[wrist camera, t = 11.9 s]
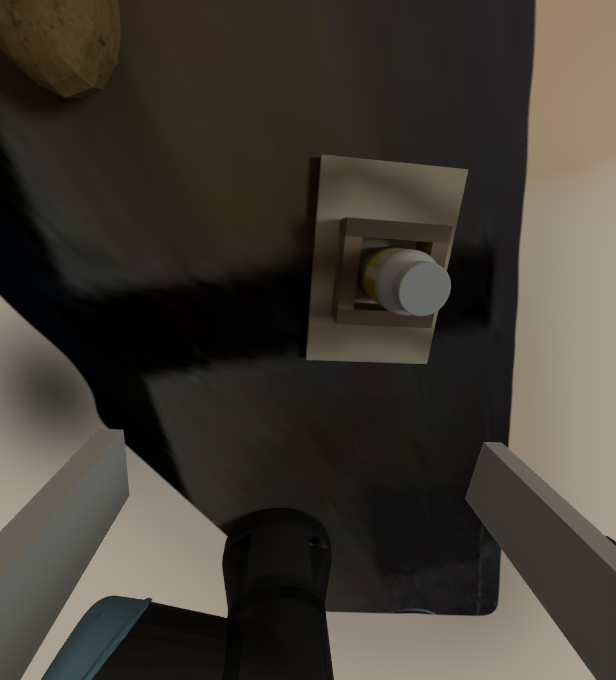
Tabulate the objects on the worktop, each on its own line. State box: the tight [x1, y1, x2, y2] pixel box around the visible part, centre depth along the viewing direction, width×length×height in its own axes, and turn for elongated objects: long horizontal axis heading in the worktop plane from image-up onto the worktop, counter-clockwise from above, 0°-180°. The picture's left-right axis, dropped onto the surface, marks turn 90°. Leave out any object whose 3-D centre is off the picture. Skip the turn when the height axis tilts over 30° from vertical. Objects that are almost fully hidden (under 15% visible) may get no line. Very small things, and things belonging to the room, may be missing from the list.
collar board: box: [306, 155, 468, 364], centre depth 30 cm, size 20×14×4 cm
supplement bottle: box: [357, 247, 451, 316], centre depth 27 cm, size 5×5×10 cm
